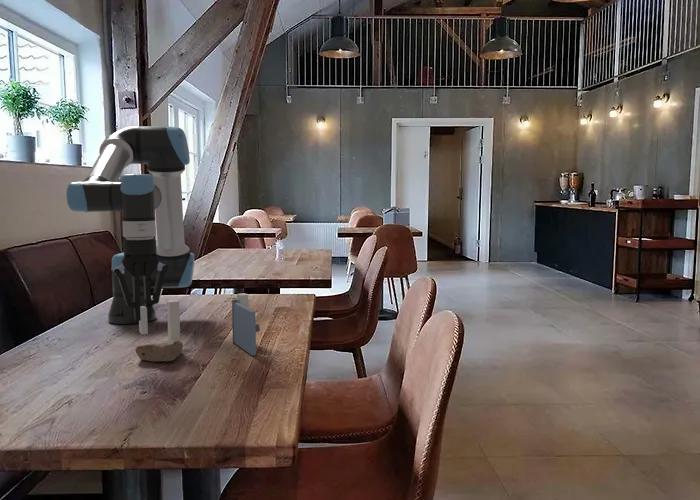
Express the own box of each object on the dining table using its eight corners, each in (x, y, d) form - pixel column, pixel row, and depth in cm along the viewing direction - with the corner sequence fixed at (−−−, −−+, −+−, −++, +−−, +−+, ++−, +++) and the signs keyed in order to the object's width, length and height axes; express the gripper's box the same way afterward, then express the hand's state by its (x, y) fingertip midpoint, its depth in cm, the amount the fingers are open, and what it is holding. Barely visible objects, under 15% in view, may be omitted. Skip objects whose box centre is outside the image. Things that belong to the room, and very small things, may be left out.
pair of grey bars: (168, 351, 157) (166, 300, 156) (245, 340, 168) (244, 293, 167) (171, 353, 154) (169, 302, 153) (249, 342, 166) (248, 294, 164)
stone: (168, 365, 143) (165, 346, 142) (133, 363, 148) (129, 344, 147) (191, 352, 151) (188, 334, 150) (156, 350, 156) (153, 333, 155)
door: (251, 357, 151) (250, 309, 150) (232, 342, 165) (231, 299, 164) (261, 355, 153) (261, 308, 152) (242, 341, 167) (241, 298, 166)
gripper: (113, 240, 133) (118, 340, 136) (170, 238, 140) (174, 332, 142) (108, 238, 140) (113, 332, 142) (163, 235, 146) (167, 326, 149)
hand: (143, 332), depth 142 cm, fingers closed
